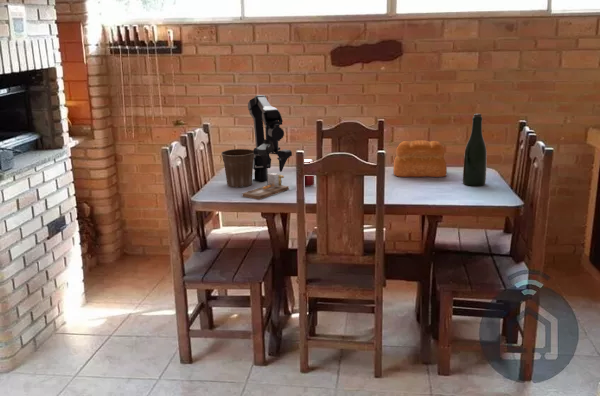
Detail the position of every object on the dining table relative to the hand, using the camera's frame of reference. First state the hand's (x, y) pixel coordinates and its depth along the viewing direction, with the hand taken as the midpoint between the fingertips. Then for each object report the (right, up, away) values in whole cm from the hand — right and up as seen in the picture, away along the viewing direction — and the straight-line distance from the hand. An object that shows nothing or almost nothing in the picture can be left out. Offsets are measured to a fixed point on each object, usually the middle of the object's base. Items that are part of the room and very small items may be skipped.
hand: (273, 170), depth 284 cm
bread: (+73, -1, +28) cm, 78 cm away
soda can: (+16, -7, +11) cm, 20 cm away
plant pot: (-17, -6, +15) cm, 23 cm away
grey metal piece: (-2, -8, 0) cm, 8 cm away
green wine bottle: (+94, -6, +6) cm, 95 cm away
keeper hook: (+3, -7, +5) cm, 9 cm away
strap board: (-3, -10, -2) cm, 11 cm away
